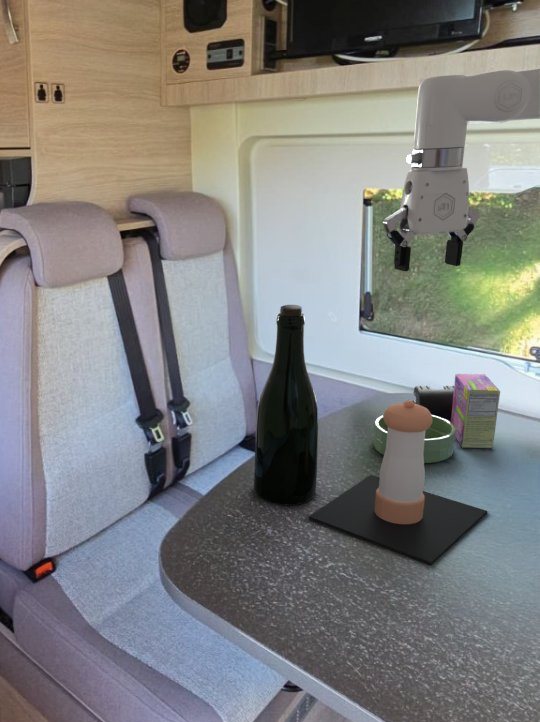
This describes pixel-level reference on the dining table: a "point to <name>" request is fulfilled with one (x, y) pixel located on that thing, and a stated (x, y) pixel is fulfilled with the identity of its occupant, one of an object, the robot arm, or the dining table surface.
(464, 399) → the box
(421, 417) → the pepper shaker
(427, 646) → the dining table surface
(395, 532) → the mat
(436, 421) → the bowl
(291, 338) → the dark green wine bottle
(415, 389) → the end cap
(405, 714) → the dining table surface
